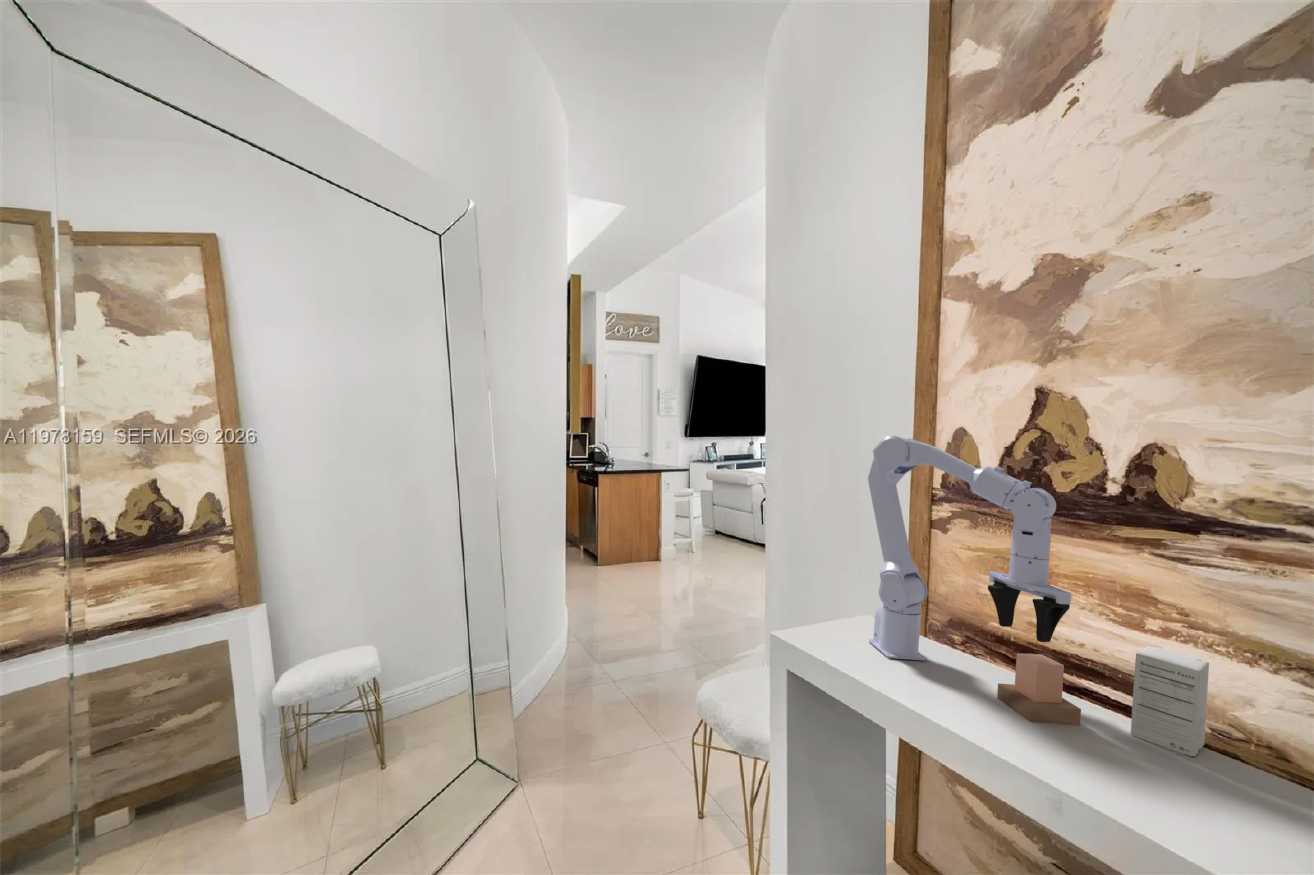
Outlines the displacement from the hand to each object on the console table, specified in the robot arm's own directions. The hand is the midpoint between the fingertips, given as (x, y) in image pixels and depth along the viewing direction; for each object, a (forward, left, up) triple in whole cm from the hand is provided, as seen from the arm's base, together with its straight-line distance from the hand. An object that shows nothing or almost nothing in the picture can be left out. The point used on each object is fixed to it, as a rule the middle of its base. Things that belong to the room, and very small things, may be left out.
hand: (1023, 633), depth 97 cm
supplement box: (+14, +13, -11) cm, 22 cm away
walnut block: (+7, -2, -11) cm, 13 cm away
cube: (+7, -2, -8) cm, 11 cm away
